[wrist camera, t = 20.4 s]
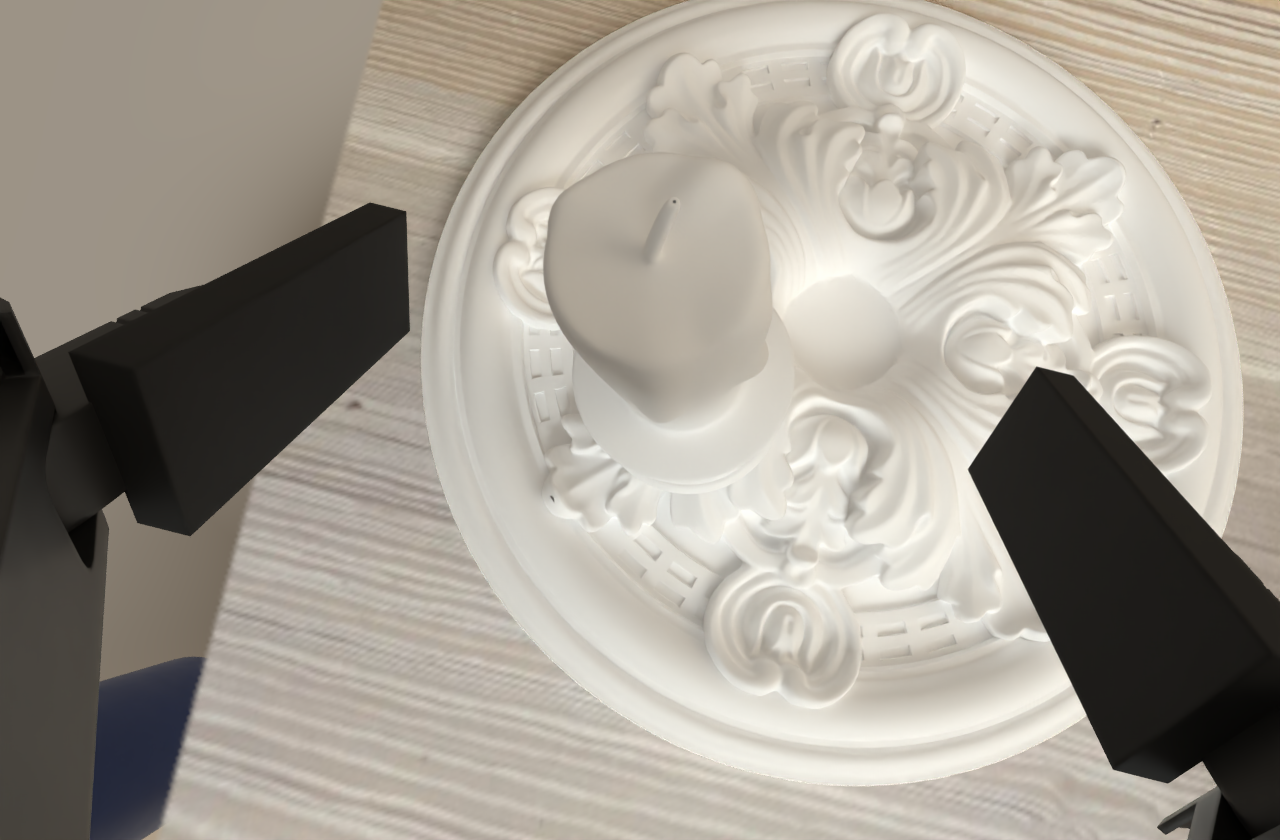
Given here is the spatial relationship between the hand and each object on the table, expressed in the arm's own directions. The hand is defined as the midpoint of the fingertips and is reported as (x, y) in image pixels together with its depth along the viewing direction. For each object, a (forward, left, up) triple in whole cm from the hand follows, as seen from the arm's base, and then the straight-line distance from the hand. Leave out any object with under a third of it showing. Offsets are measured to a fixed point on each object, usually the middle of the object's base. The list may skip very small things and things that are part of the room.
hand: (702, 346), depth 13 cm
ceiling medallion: (+1, +6, -8) cm, 10 cm away
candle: (0, 0, -5) cm, 5 cm away
